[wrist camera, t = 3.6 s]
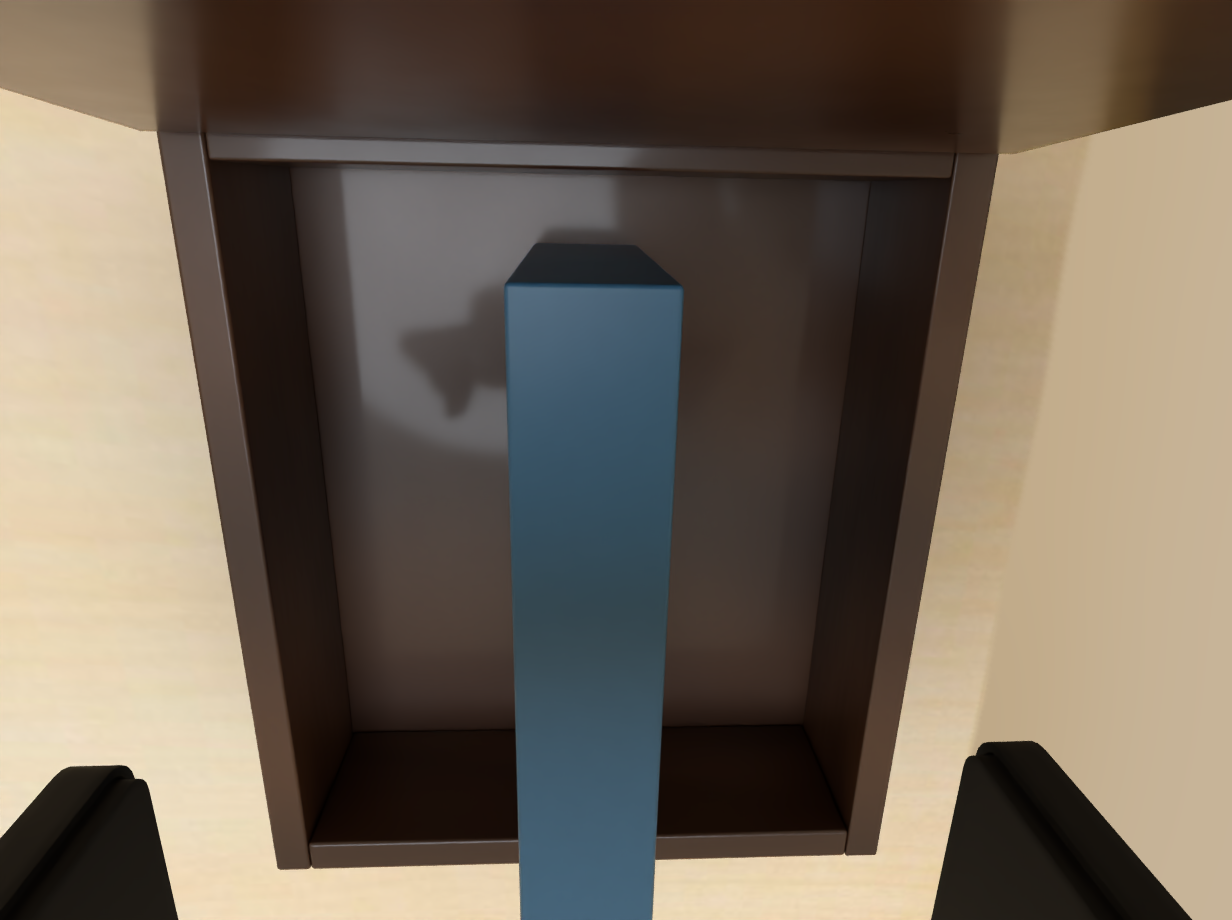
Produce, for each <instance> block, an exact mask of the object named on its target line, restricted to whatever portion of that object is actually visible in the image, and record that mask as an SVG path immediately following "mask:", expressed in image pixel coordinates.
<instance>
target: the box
mask: <svg viewBox="0 0 1232 920" xmlns="http://www.w3.org/2000/svg"><path fill="white" fill-rule="evenodd" d="M157 137H158V143H159V149H160V155H161V161H162V167H163V173H164V179H165V186H166V192H167V198H168V204H169V210H170V216H171V222H172V228H173V234H174V240H175V246H176V252H177V259H178V265H179V271H180V277H181V283H182V289H183V295H184V301H185V307H186V313H187V319H188V325H189V332H190V338H191V344H192V350H193V356H194V362H195V368H196V374H197V380H198V386H199V392H200V399H201V405H202V411H203V417H204V423H205V429H206V435H207V441H208V447H209V453H210V459H211V465H212V472H213V478H214V484H215V490H216V496H217V502H218V508H219V514H220V520H221V526H222V532H223V538H224V545H225V551H226V557H227V563H228V569H229V575H230V581H231V587H232V593H233V599H234V605H235V612H236V618H237V624H238V630H239V636H240V642H241V648H242V654H243V660H244V666H245V672H246V678H247V685H248V691H249V697H250V703H251V709H252V715H253V721H254V727H255V733H256V739H257V745H258V751H259V758H260V764H261V770H262V776H263V782H264V788H265V794H266V800H267V806H268V812H269V818H270V825H271V831H272V837H273V843H274V849H275V855H276V861H277V867H278V869H280V870H290V869H309V868H310V867H311V865H312V867H313V868H315V869H322V868H360V867H399V866H437V865H476V864H514V863H519V841H518V804H517V766H516V729H515V691H514V654H513V616H512V579H511V541H510V504H509V466H508V429H507V391H506V354H505V316H504V285H505V283H506V282H507V280H508V279H509V278H510V276H511V275H512V274H513V272H514V271H515V270H516V268H517V267H518V266H519V264H520V263H521V262H522V260H523V259H524V258H525V256H526V255H527V254H528V252H529V251H530V250H531V248H532V247H533V246H534V244H536V243H553V244H605V245H636V246H638V247H639V248H640V249H641V250H642V251H643V252H644V253H645V254H647V255H648V256H649V257H650V258H651V259H652V260H653V261H655V262H656V263H657V264H658V265H659V266H660V267H661V268H663V269H664V270H665V271H666V272H667V273H668V274H669V275H671V276H672V277H673V278H674V279H675V280H676V281H677V282H678V283H680V284H681V285H682V286H683V289H684V302H683V321H682V341H681V361H680V381H679V400H678V420H677V440H676V460H675V480H674V499H673V519H672V539H671V559H670V578H669V598H668V618H667V638H666V657H665V677H664V697H663V717H662V736H661V756H660V776H659V796H658V816H657V835H656V855H655V860H668V859H706V858H745V857H783V856H822V855H842V854H844V853H845V855H847V856H849V855H875V854H876V851H877V846H878V840H879V834H880V828H881V823H882V817H883V811H884V806H885V800H886V794H887V788H888V783H889V777H890V771H891V766H892V760H893V754H894V749H895V743H896V737H897V731H898V726H899V720H900V714H901V709H902V703H903V697H904V691H905V686H906V680H907V674H908V669H909V663H910V657H911V651H912V646H913V640H914V634H915V629H916V623H917V617H918V612H919V606H920V600H921V594H922V589H923V583H924V577H925V572H926V566H927V560H928V554H929V549H930V543H931V537H932V532H933V526H934V520H935V515H936V509H937V503H938V497H939V492H940V486H941V480H942V475H943V469H944V463H945V457H946V452H947V446H948V440H949V435H950V429H951V423H952V418H953V412H954V406H955V400H956V395H957V389H958V383H959V378H960V372H961V366H962V360H963V355H964V349H965V343H966V338H967V332H968V326H969V320H970V315H971V309H972V303H973V298H974V292H975V286H976V281H977V275H978V269H979V263H980V258H981V252H982V246H983V241H984V235H985V229H986V223H987V218H988V212H989V206H990V201H991V195H992V189H993V184H994V178H995V172H996V166H997V161H998V155H999V154H988V153H950V152H913V151H875V150H838V149H800V148H763V147H725V146H688V145H650V144H612V143H575V142H537V141H500V140H462V139H425V138H387V137H350V136H312V135H275V134H237V133H200V132H162V131H157Z"/></svg>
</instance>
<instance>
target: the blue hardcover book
mask: <svg viewBox="0 0 1232 920" xmlns="http://www.w3.org/2000/svg"><path fill="white" fill-rule="evenodd" d="M683 302H684V289H683V286H682V285H681V284H680V283H678V282H677V281H676V280H675V279H674V278H673V277H672V276H671V275H669V274H668V273H667V272H666V271H665V270H664V269H663V268H661V267H660V266H659V265H658V264H657V263H656V262H655V261H653V260H652V259H651V258H650V257H649V256H648V255H647V254H645V253H644V252H643V251H642V250H641V249H640V248H639V247H638V246H636V245H605V244H553V243H536V244H534V246H533V247H532V248H531V250H530V251H529V252H528V254H527V255H526V256H525V258H524V259H523V260H522V262H521V263H520V264H519V266H518V267H517V268H516V270H515V271H514V272H513V274H512V275H511V276H510V278H509V279H508V280H507V282H506V283H505V285H504V316H505V354H506V391H507V429H508V466H509V504H510V541H511V579H512V616H513V654H514V691H515V729H516V766H517V804H518V841H519V878H520V916H521V920H652V914H653V895H654V875H655V855H656V835H657V816H658V796H659V776H660V756H661V736H662V717H663V697H664V677H665V657H666V638H667V618H668V598H669V578H670V559H671V539H672V519H673V499H674V480H675V460H676V440H677V420H678V400H679V381H680V361H681V341H682V321H683Z"/></svg>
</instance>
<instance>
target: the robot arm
mask: <svg viewBox="0 0 1232 920" xmlns="http://www.w3.org/2000/svg"><path fill="white" fill-rule="evenodd" d="M0 920H178V916H177V912H176V908H175V903H174V899H173V894H172V890H171V885H170V881H169V876H168V872H167V867H166V863H165V859H164V854H163V850H162V845H161V841H160V836H159V832H158V827H157V823H156V818H155V814H154V810H153V805H152V801H151V796H150V792H149V788H148V785H147V783H146V782H145V781H144V780H143V779H135V778H134V775H133V773H132V771H131V770H130V769H129V768H128V767H127V766H122V765H114V766H76V767H68V768H66V769H63V770H61V771H60V772H59V773H58V774H57V775H56V776H55V777H54V778H53V779H52V780H51V781H50V782H49V783H48V785H47V786H46V787H45V788H44V789H43V790H42V791H41V793H40V794H39V795H38V796H37V797H36V798H35V799H34V801H33V802H32V803H31V804H30V805H29V806H28V807H27V809H26V810H25V811H24V812H23V813H22V814H21V815H20V817H19V818H18V819H17V820H16V821H15V822H14V823H13V825H12V826H11V827H10V828H9V829H8V830H7V831H6V833H5V834H4V835H3V836H2V837H1V838H0ZM931 920H1192V919H1191V918H1190V917H1189V916H1188V914H1187V913H1186V912H1185V911H1184V910H1183V909H1182V907H1181V906H1180V905H1179V904H1178V903H1177V902H1176V900H1175V899H1174V898H1173V897H1172V896H1171V895H1170V894H1169V892H1168V891H1167V890H1166V889H1165V888H1164V887H1163V885H1162V884H1161V883H1160V882H1159V881H1158V880H1157V879H1156V877H1155V876H1154V875H1153V874H1152V873H1151V872H1150V870H1149V869H1148V868H1147V867H1146V866H1145V865H1144V864H1143V862H1142V861H1141V860H1140V859H1139V858H1138V857H1137V855H1136V854H1135V853H1134V852H1133V851H1132V850H1131V848H1130V847H1129V846H1128V845H1127V844H1126V843H1125V841H1124V840H1123V839H1122V838H1121V837H1120V836H1119V835H1118V833H1117V832H1116V831H1115V830H1114V829H1113V828H1112V827H1111V825H1110V824H1109V823H1108V822H1107V821H1106V820H1105V818H1104V817H1103V816H1102V815H1101V814H1100V813H1099V811H1098V810H1097V809H1096V808H1095V807H1094V806H1093V804H1092V803H1091V802H1090V801H1089V800H1088V799H1087V798H1086V796H1085V795H1084V794H1083V793H1082V792H1081V791H1080V790H1079V788H1078V787H1077V786H1076V785H1075V784H1074V782H1073V781H1072V780H1071V779H1070V778H1069V777H1068V776H1067V774H1066V773H1065V772H1064V771H1063V770H1062V769H1061V768H1060V766H1059V765H1058V764H1057V763H1056V762H1055V761H1054V759H1053V758H1052V757H1051V756H1050V755H1049V754H1048V753H1047V751H1046V750H1045V749H1044V748H1043V747H1042V746H1040V745H1039V744H1038V743H1035V742H1033V741H1014V742H986V743H983V744H982V745H981V746H980V747H979V748H978V750H977V753H976V756H969V757H968V758H967V759H966V761H965V764H964V767H963V772H962V776H961V781H960V786H959V791H958V795H957V800H956V805H955V810H954V814H953V819H952V824H951V828H950V833H949V838H948V843H947V847H946V852H945V857H944V862H943V866H942V871H941V876H940V880H939V885H938V890H937V895H936V899H935V904H934V909H933V914H932V918H931Z"/></svg>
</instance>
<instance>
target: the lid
mask: <svg viewBox="0 0 1232 920" xmlns="http://www.w3.org/2000/svg"><path fill="white" fill-rule="evenodd" d="M0 88H2V89H5V90H9V91H12V92H15V93H18V94H22V95H25V96H28V97H32V98H35V99H38V100H41V101H45V102H48V103H51V104H54V105H58V106H61V107H64V108H67V109H71V110H74V111H77V112H80V113H84V114H87V115H90V116H94V117H97V118H100V119H103V120H107V121H110V122H113V123H116V124H120V125H123V126H126V127H129V128H133V129H136V130H139V131H162V132H200V133H237V134H275V135H312V136H350V137H387V138H425V139H462V140H500V141H537V142H575V143H612V144H650V145H688V146H725V147H763V148H800V149H838V150H875V151H913V152H950V153H988V154H1016V153H1020V152H1024V151H1028V150H1032V149H1036V148H1040V147H1044V146H1048V145H1052V144H1056V143H1060V142H1064V141H1068V140H1072V139H1076V138H1080V137H1084V136H1088V135H1092V134H1096V133H1100V132H1104V131H1108V130H1112V129H1116V128H1120V127H1124V126H1128V125H1132V124H1136V123H1140V122H1144V121H1148V120H1152V119H1156V118H1160V117H1164V116H1168V115H1172V114H1176V113H1180V112H1184V111H1188V110H1192V109H1196V108H1200V107H1204V106H1208V105H1212V104H1216V103H1220V102H1225V101H1228V100H1232V0H0Z"/></svg>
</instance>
